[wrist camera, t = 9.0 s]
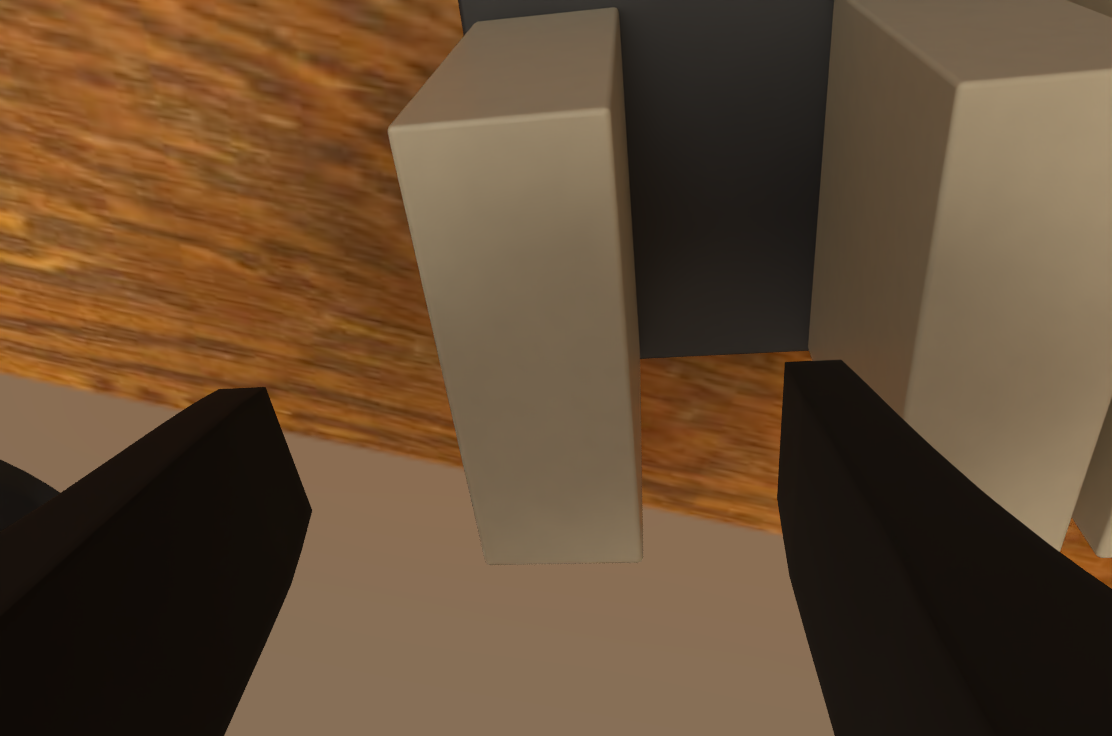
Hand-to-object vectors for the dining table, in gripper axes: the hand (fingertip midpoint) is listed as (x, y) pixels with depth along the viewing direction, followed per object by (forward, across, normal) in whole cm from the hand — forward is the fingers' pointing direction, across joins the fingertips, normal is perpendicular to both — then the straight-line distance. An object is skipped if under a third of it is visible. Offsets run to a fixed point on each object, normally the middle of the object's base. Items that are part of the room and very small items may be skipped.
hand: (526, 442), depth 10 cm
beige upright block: (+8, -6, 0) cm, 10 cm away
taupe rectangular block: (+7, 0, 0) cm, 7 cm away
